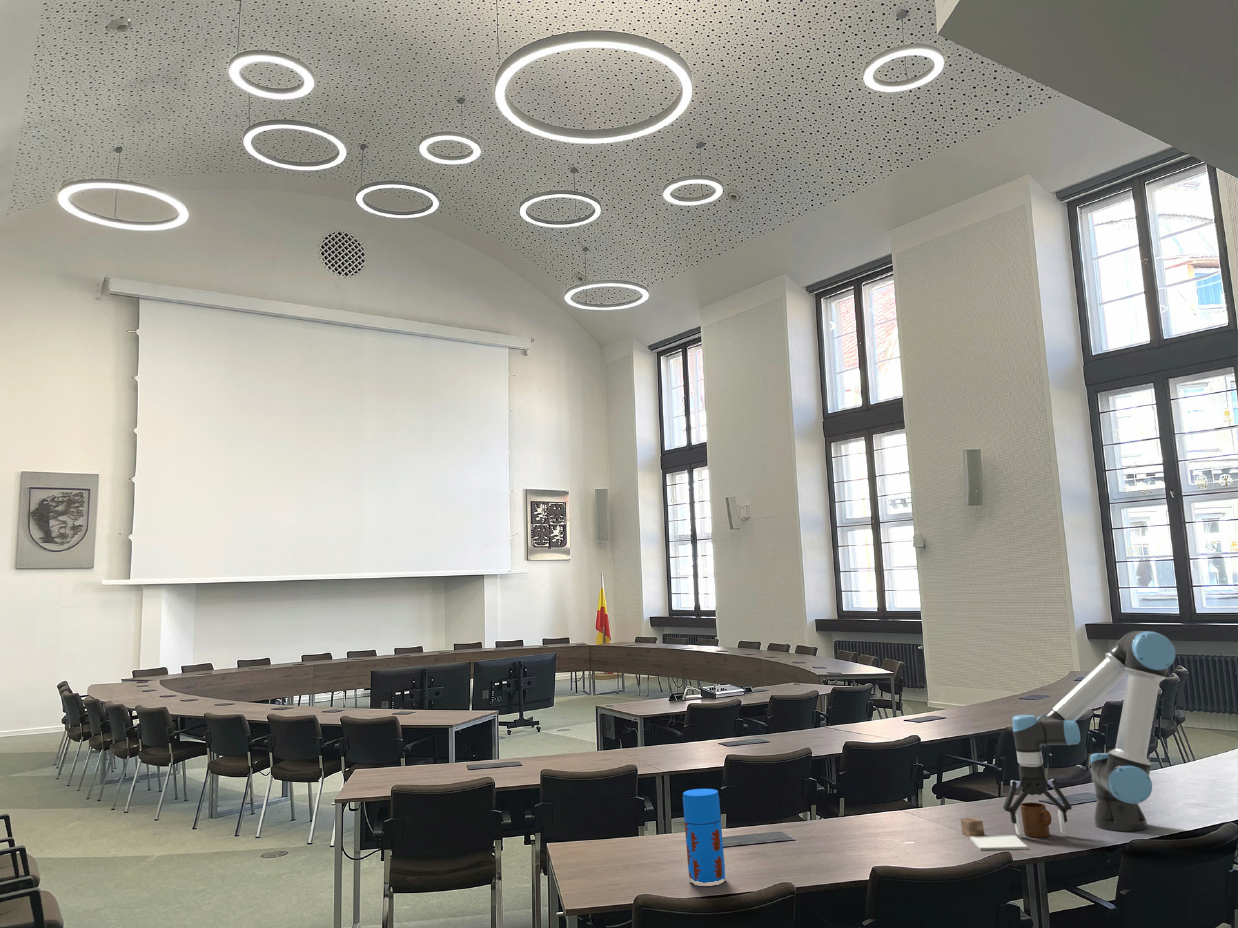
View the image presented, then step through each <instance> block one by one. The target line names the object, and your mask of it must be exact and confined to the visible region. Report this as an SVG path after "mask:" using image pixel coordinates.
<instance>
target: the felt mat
mask: <svg viewBox="0 0 1238 928" xmlns="http://www.w3.org/2000/svg"><path fill="white" fill-rule="evenodd" d="M969 839H970V840H971V842H972V843H973V844H974V845H975V846H976V847H977V849H979V850H980V851H1006V850H1007V851H1011V850H1015V851H1016V850H1017V851H1018V850H1029V846H1028V845H1026V844H1025V843H1024V841H1023V842H1022V839H1021V840H1020V839H1019V837H1017V835H1015V834H1010V835H984V836H970V838H969Z"/></svg>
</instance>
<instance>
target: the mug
mask: <svg viewBox="0 0 1238 928" xmlns="http://www.w3.org/2000/svg"><path fill="white" fill-rule="evenodd" d="M1020 812H1021V813H1020V814H1021V820H1022V821H1021V822H1022V827H1023V832H1024V835H1025V836H1027V837H1028V838H1034V839H1043V838H1048V837H1049V836H1050V835H1051V833H1050V827H1049V826H1050V825H1051V824H1052V815H1051V813H1050V811H1048V810H1047V807H1046V804H1044V803H1042V802H1041V803H1040V802H1032V801H1031V802H1024V803H1023V802H1022V803H1021V805H1020Z"/></svg>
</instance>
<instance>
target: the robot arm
mask: <svg viewBox="0 0 1238 928" xmlns="http://www.w3.org/2000/svg"><path fill="white" fill-rule="evenodd" d="M1175 659H1176V649H1175V646H1174V645H1173V643H1172V642H1171V640H1170V639H1169V638H1168V637H1167V636H1165V635H1163V634H1161V633H1159V632H1155V631H1150V630H1145V631H1144V630H1133V631H1130V632H1127V633H1126V634H1125V635H1123V636H1122V637H1121V638H1120V639H1119V640H1117V641H1116V643H1115V644H1114V645H1112V647H1111V648H1110V649H1109V650H1107V652H1105V658H1104V659H1103V660H1102V661H1101V662H1100V663H1099V664H1098V665H1097V666H1095V668H1093V669H1092V670H1091V671H1090V672H1089V673H1088V674H1087V675H1085V677H1084V678H1083V679H1082V680H1081V681H1080V682H1079V683H1077V684H1076V686H1074V687H1073V688H1072V689H1071V690H1070V691H1068V693H1067V694H1066V695H1064V696H1063V697H1062V698H1061V699H1059V701H1058V702H1057V703H1056V704H1055V705H1054V706H1053V707H1052V708H1051V709H1050V710H1048V711H1047V712H1046V713H1045V714H1042V715H1040V716H1038V717H1036V715H1033V714H1018V715H1014V716H1013V717H1012V721H1011V723H1012V733H1013V739H1014V744H1015V746H1014V747H1015V752H1016V758H1017V763H1018V764H1019V765H1018V774H1019V780H1014V779H1011V780H1010V781H1009V784H1010V786H1009V790H1008V792H1007V795H1006V798H1005V800H1004V804H1003V807H1002V808H1003V810H1004V811H1005V812H1008V813H1009V815H1010V821H1011V823H1012V824H1013V825H1014V828H1015V833H1016V834H1017V835H1018V836H1022V832H1021V827H1020V826H1021V825H1020V818H1019V813H1018V812H1017V810H1019V808H1020V807H1021V804H1022V803H1023V802H1024V800H1025V799H1026V798H1027V797H1028V795H1029V796H1034V795H1037V796H1041V795H1043V794H1044V796H1045V797H1047V798H1048V799H1049V800H1050V801H1051V802H1052V803H1053V805H1055V806H1056V807H1057V808H1058V809H1059V810H1057V815H1058V823H1059V829H1060V833H1061V834H1063V835H1067V831H1066V826H1065V823H1068V817H1067V813H1068V812H1067V811H1069V810H1072V808H1073V807H1072V805H1071V804H1070V802H1069V801H1068V799H1067V798H1066V796H1065V795H1064V793H1063V792H1062V791H1061V789H1060V788H1059V785H1058V782H1057V780H1056V779H1054V778H1050V779H1048V780H1047V779H1046V773H1045V767H1044V765H1043V764H1044V759H1043V753H1042V748H1041V747H1042V746H1059V745H1060V746H1066V745H1067V746H1071V745H1078V744H1079V743H1081V733H1080V728H1079V725H1078V723H1077V722H1076V721H1077V720H1078V719H1080V718H1081V716H1083V715H1084V713H1086V712H1087V711H1089V709H1090V708H1091V707H1092V706H1093V705H1095V704H1096V703H1097V702H1098V701H1099V700H1100V699H1101V698H1102V697H1104V696H1105V694H1106V693H1107V692H1109V691H1110V690H1111V689H1112V688H1113V687H1114V686H1115V685H1116V684H1117V683H1119V681H1120V680H1122V679H1123V678H1124V677H1125V676H1127V675H1128V676H1127V680H1126V681H1127V682H1126V687H1125V692H1124V698H1123V702H1122V703H1123V704H1122V710H1121V715H1120V721H1119V725H1118V731H1117V737H1116V741H1115V742H1116V743H1115V747H1114V748H1113V749H1111V750H1109V751H1108V752H1101V753H1100V752H1097V753H1096V752H1095V753H1092V754H1090V757H1089V759H1090V763H1089V764H1090V766H1091V773H1092V778H1093V779H1092V780H1093V785H1094V791H1095V796H1096V804H1095V810H1094V815H1093V821H1094V825H1095V826H1096V827H1098V828H1100V829H1104V830H1110V831H1117V832H1138V831H1142V830H1143V831H1144V830H1146V829H1148V821H1147V818H1146V817H1145V814H1144V813H1143V810H1142V808H1141V806H1140V805H1139V804H1141V803H1143V802H1145V801H1146V800H1148V798H1149V797H1151V795H1152V791H1153V783H1152V779H1151V777H1150V772H1151V767H1152V763H1151V762H1150V760H1149V759H1148V757H1147V756H1148V750H1149V745H1150V739H1151V734H1152V733H1151V732H1152V729H1153V728H1152V726H1153V722H1154V716H1155V710H1156V705H1157V698H1158V694H1159V688H1160V687H1159V686H1160V683H1161V682H1162V681H1164V680H1166V679H1167V676H1168V669H1169V668H1170V667H1171V665H1172V664H1173V663H1174V662H1175ZM1048 785H1049V786H1050V787H1051V788H1052V789H1053V791H1054V792H1055V793H1056V795H1057V797H1058V798H1059V800H1060V801H1061V803H1062V804H1063V805H1062V804H1061V803H1060V802H1059V801H1058V800H1057V799H1056V798H1055V797H1054V796H1053V795H1052V794H1051V793H1050V792H1049V791H1048V790H1047V789H1046V788H1047V787H1048ZM1019 786H1020V787H1021V788H1022V789H1021V790H1020V791H1019V794H1018V796H1017V797H1016V798H1015V800H1014V797H1015V794H1016V792H1017V789H1018V788H1019ZM1013 800H1014V802H1013Z"/></svg>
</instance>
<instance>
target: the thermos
mask: <svg viewBox="0 0 1238 928" xmlns="http://www.w3.org/2000/svg"><path fill="white" fill-rule="evenodd" d="M718 791H719V790H717V789H714V788H694V789H689V790H686V791H684V792H683V793H682V803H683V805H682V806H683V818H684V830H685V843H686V845H685V846H686V856H687V869H688V876H689V877H690V878H691V879H693V880H694V881H699V882H703V883H705V882H706V883H707V882H714V881H719V880H721V879H724V877H725V878H726V866H725V855H724V854H725V853H724V843H723V842H724V841H723V830H722V829H723V828H722V819H721V807H720V796H719V792H718ZM689 877H688V878H689Z"/></svg>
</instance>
